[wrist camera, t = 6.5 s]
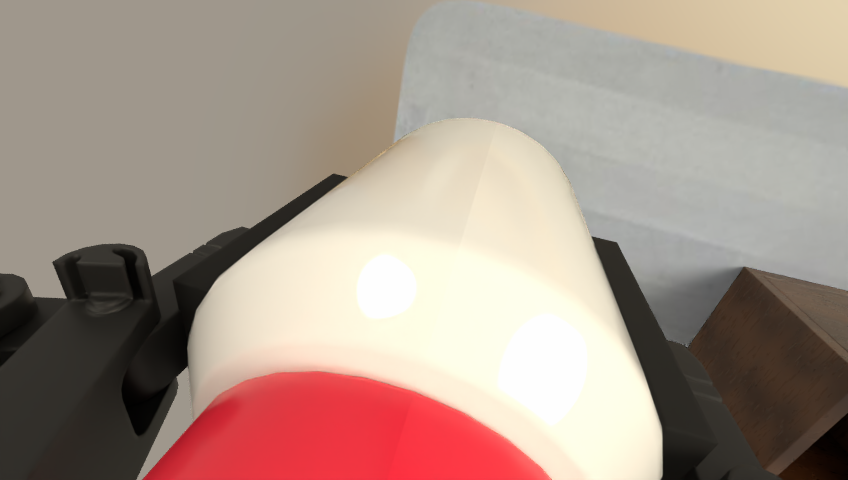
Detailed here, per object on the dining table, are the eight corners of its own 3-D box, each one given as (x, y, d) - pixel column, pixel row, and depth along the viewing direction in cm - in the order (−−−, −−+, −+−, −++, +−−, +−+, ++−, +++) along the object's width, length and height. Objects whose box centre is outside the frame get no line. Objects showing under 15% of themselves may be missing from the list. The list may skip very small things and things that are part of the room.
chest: (810, 412, 38) (936, 565, 26) (669, 373, 40) (730, 502, 28) (920, 307, 31) (1150, 452, 20) (744, 266, 33) (863, 378, 22)
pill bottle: (351, 279, 16) (86, 643, 6) (380, 89, 12) (-223, 256, 2) (529, 338, 15) (548, 855, 5) (622, 156, 11) (1284, 835, 1)
